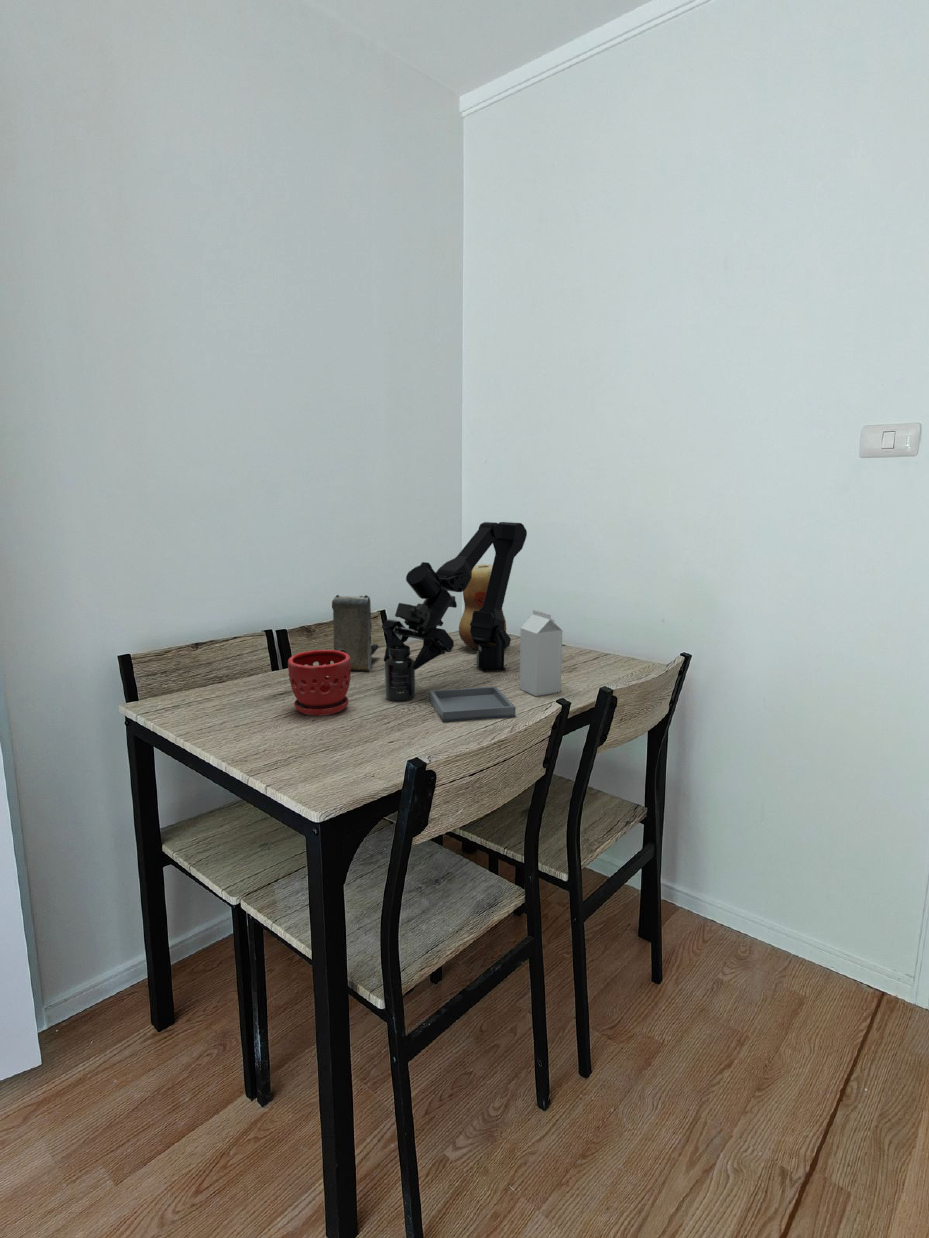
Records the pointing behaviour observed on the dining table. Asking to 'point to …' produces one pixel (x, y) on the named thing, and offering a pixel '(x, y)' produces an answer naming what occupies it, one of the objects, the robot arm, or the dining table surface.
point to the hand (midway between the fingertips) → (399, 665)
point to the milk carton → (540, 655)
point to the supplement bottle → (399, 674)
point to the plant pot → (320, 681)
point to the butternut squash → (474, 600)
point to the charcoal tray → (471, 704)
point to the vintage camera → (353, 630)
